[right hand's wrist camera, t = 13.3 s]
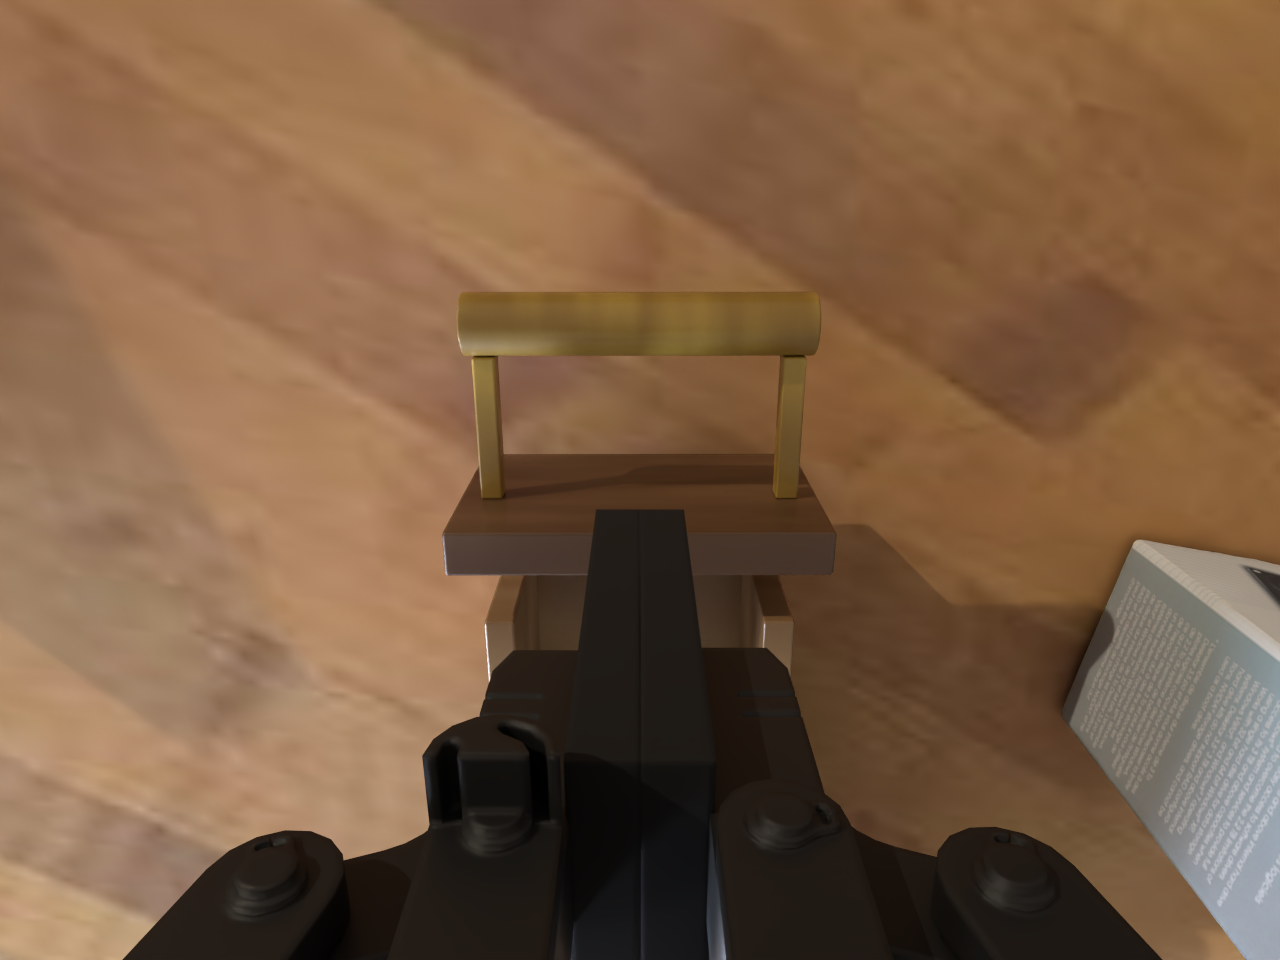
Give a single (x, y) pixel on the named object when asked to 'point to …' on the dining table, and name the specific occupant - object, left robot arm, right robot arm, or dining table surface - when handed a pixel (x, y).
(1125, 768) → the hard drive box
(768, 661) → the right robot arm
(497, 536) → the drawer
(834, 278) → the dining table surface
